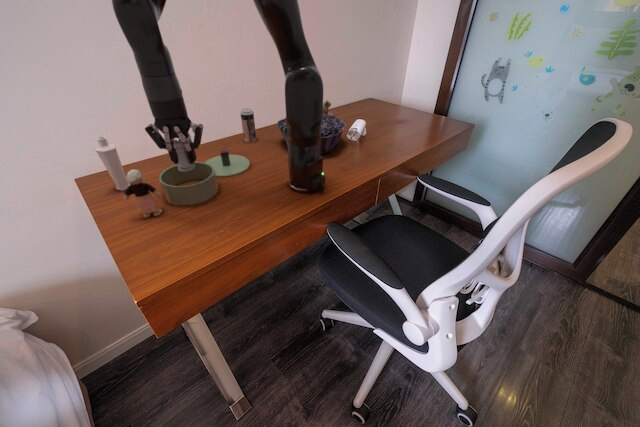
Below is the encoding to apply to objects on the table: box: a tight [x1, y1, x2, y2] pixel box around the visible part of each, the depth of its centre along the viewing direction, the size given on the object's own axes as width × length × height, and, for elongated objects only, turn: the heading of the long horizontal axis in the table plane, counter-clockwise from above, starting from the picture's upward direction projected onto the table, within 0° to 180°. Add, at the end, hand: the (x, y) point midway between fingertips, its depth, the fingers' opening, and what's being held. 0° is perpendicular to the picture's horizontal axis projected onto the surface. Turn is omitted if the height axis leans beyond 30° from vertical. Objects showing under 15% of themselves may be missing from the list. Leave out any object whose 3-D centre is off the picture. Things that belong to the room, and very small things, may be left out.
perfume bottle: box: [95, 136, 131, 192], centre depth 78 cm, size 5×4×15 cm
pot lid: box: [204, 148, 251, 178], centre depth 92 cm, size 15×15×6 cm
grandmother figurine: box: [123, 169, 163, 219], centre depth 69 cm, size 8×4×13 cm, turn 118°
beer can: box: [239, 108, 257, 143], centre depth 108 cm, size 5×5×12 cm
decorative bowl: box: [276, 113, 347, 155], centre depth 109 cm, size 26×28×10 cm
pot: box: [158, 161, 220, 207], centre depth 79 cm, size 14×14×6 cm
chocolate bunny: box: [323, 99, 334, 115], centre depth 130 cm, size 6×8×10 cm
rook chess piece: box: [173, 138, 195, 172], centre depth 74 cm, size 4×4×8 cm
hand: (185, 162), depth 75 cm, fingers closed on rook chess piece, 3 cm apart
